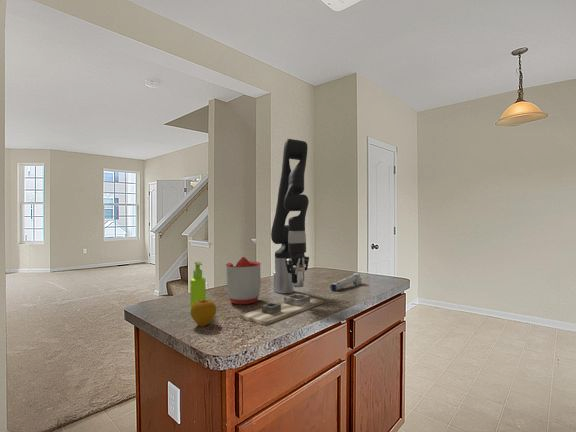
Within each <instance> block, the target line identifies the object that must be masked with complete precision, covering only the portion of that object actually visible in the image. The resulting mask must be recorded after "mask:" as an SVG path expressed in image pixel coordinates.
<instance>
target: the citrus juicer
mask: <svg viewBox="0 0 576 432" xmlns="http://www.w3.org/2000/svg"><path fill="white" fill-rule="evenodd" d="M261 265H262V263H261V261H259V262H258V261H249V260H248V259H247V258H246V257H245V256H242V257H241V258H240V259H239V260H238V262H237V263H236V264H235V266H234V264H233V263H232V262H228V263H226V264H225V266H226V273H225V274H226V276H225V277H226V290H227V295H228V298H229V300H230V303H232V304H235V305H239V306H241V305H249V304H254V303H257V301H258V298H259V296H260V290H261V279H262V278H261Z"/></svg>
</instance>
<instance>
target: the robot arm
mask: <svg viewBox="0 0 576 432" xmlns="http://www.w3.org/2000/svg"><path fill="white" fill-rule="evenodd" d="M308 149H309V148H308V143H307V142H306V141H304V140H299V139H295V138H294V139H292V138H287V139H286V140H285V142H284V144H283V154H282V165H281V174H280V175H281V176H280V182H279V185H278V193H277V200H276V201H277V202H276V208H275V213H274V217H273V218H274V219H273V222H272V226H271V231H270V236H271V241H272V243H274V245H281V246H280V247H279V248H278V249H277V250H275V252H274V272H273V292H275V293H278V294H290V293H293V292H294V289H295V287H294V283H297V269H298V268H299V267H303V282H304V281H305V272H306V271H308V268H309V262H310V261H309V260H310V257H309V256H306V255H305V253H307V236H306V235H307V234H306V216H307V210H308V208H309V202H310V200H309V197H308V196H307V195H306V194H303V193H304V191H305V174H306V173H305V172H306V166H307V158H308ZM290 160H295V161H298V163H297V165H296V166H295V167H294V168H293V169H292V168H291V163H290ZM290 212H300V213H299V214H297V215H295V216H291V217H289V218H288V223H287V224H286V220H287V217H288V216H289V214H290ZM294 268H295V271H294Z"/></svg>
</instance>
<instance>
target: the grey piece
mask: <svg viewBox="0 0 576 432" xmlns="http://www.w3.org/2000/svg"><path fill="white" fill-rule="evenodd" d="M362 279H363V278H362V277H361V275H360V273H359V272H354V273H353V274H352V275H350V276H347V277H345V278H343V279H340V280H337V281H334V282H333V283H331V285H330V286H329V289H330V290H331V291H332V292H337V290H338V291H340V290H342V289H343V288H344V287H346V286H348V285H350V284H352V285H353V286H359V285H361V284H362Z"/></svg>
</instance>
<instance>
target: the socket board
mask: <svg viewBox="0 0 576 432" xmlns="http://www.w3.org/2000/svg"><path fill="white" fill-rule="evenodd" d="M322 304H324V299H318V298H313V297H311V296H310V295H306V294H301V293H294V294H293V293H292V294H290V295H286V296H284V299H283V300H282V301H280V302H276V303H275V302H267V303H265V304H262V305H261V308H258V309H254V310H251V311H249V312H245V313H241V314H240V319H243V320H246V321H248V322H253V323H255V324H260V325H264V326H267V325H270V324H272V323H275V322H278V321H280V320H283V319H286V318H287V317H291V316H294V315H296V314H300V313H301V312H303V311H306V310H309V309H311V308H314V307H317V306H319V305H322Z"/></svg>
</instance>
